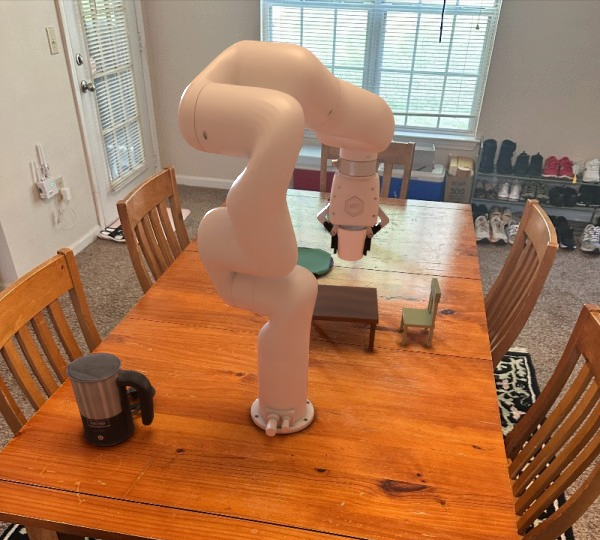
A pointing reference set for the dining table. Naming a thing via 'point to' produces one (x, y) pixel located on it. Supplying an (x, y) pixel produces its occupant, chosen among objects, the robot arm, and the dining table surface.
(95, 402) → the milk frother
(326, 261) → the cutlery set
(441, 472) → the dining table surface
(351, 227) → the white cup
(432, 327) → the chair
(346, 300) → the model table
